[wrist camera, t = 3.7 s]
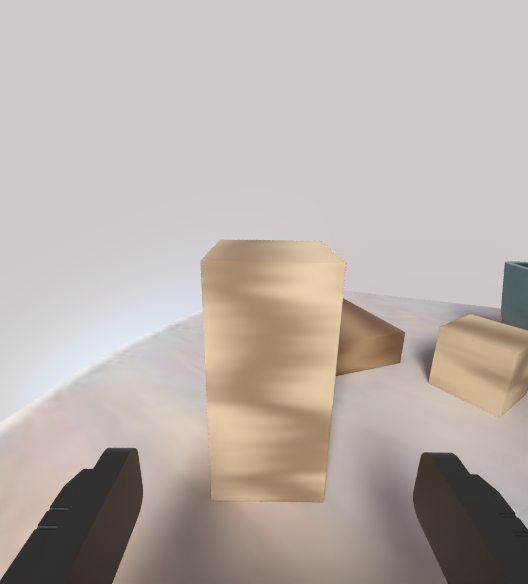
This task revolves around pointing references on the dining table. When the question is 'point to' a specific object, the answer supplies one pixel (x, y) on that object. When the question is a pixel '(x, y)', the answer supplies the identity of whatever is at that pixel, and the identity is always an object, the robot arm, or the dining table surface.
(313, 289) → the oak pillar
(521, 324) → the flower pot
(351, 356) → the walnut slab
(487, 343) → the oak cube
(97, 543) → the robot arm
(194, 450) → the dining table surface
